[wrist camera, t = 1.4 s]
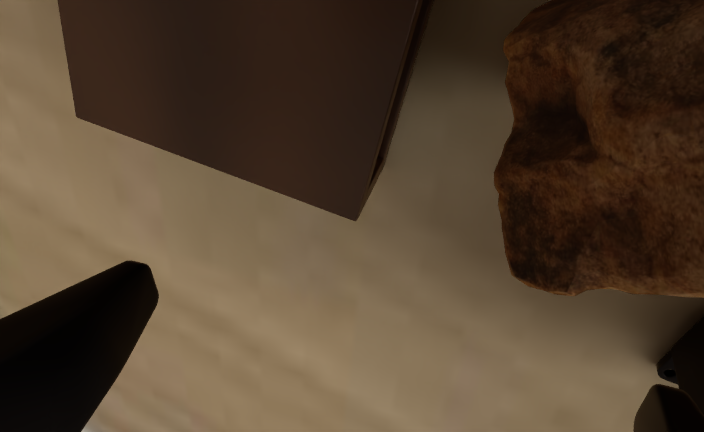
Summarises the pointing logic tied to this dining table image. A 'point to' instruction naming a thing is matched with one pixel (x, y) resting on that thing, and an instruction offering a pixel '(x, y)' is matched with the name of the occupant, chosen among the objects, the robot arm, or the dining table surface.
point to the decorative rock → (606, 148)
